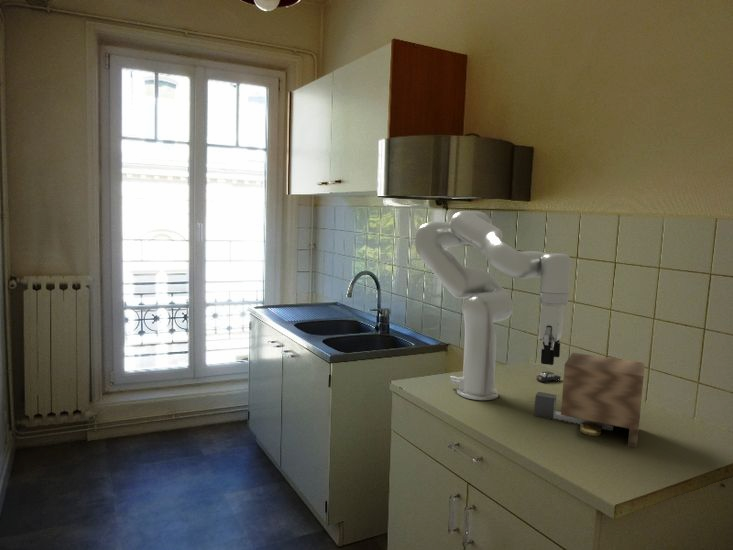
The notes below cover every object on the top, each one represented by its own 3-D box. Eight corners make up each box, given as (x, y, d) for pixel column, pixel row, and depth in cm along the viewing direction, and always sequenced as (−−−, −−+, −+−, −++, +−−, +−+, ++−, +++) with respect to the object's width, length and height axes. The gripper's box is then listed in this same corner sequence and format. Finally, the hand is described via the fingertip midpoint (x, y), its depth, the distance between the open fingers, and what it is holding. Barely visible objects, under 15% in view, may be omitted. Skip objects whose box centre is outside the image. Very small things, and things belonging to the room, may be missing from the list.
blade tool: (534, 415, 151) (535, 395, 150) (536, 411, 154) (538, 391, 153) (612, 431, 142) (614, 409, 141) (613, 427, 145) (615, 405, 144)
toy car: (561, 381, 184) (563, 359, 183) (533, 385, 180) (535, 361, 179) (553, 378, 188) (555, 356, 187) (525, 381, 183) (527, 358, 182)
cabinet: (559, 431, 140) (564, 364, 138) (567, 414, 152) (572, 352, 150) (636, 447, 132) (643, 376, 130) (638, 428, 144) (644, 362, 142)
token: (578, 433, 140) (579, 427, 140) (581, 427, 144) (581, 421, 144) (599, 438, 138) (600, 431, 137) (601, 431, 142) (602, 424, 142)
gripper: (545, 294, 157) (542, 352, 158) (533, 301, 142) (529, 365, 143) (572, 296, 153) (569, 355, 155) (563, 304, 138) (559, 369, 140)
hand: (550, 360), depth 149 cm, fingers open, 9 cm apart
